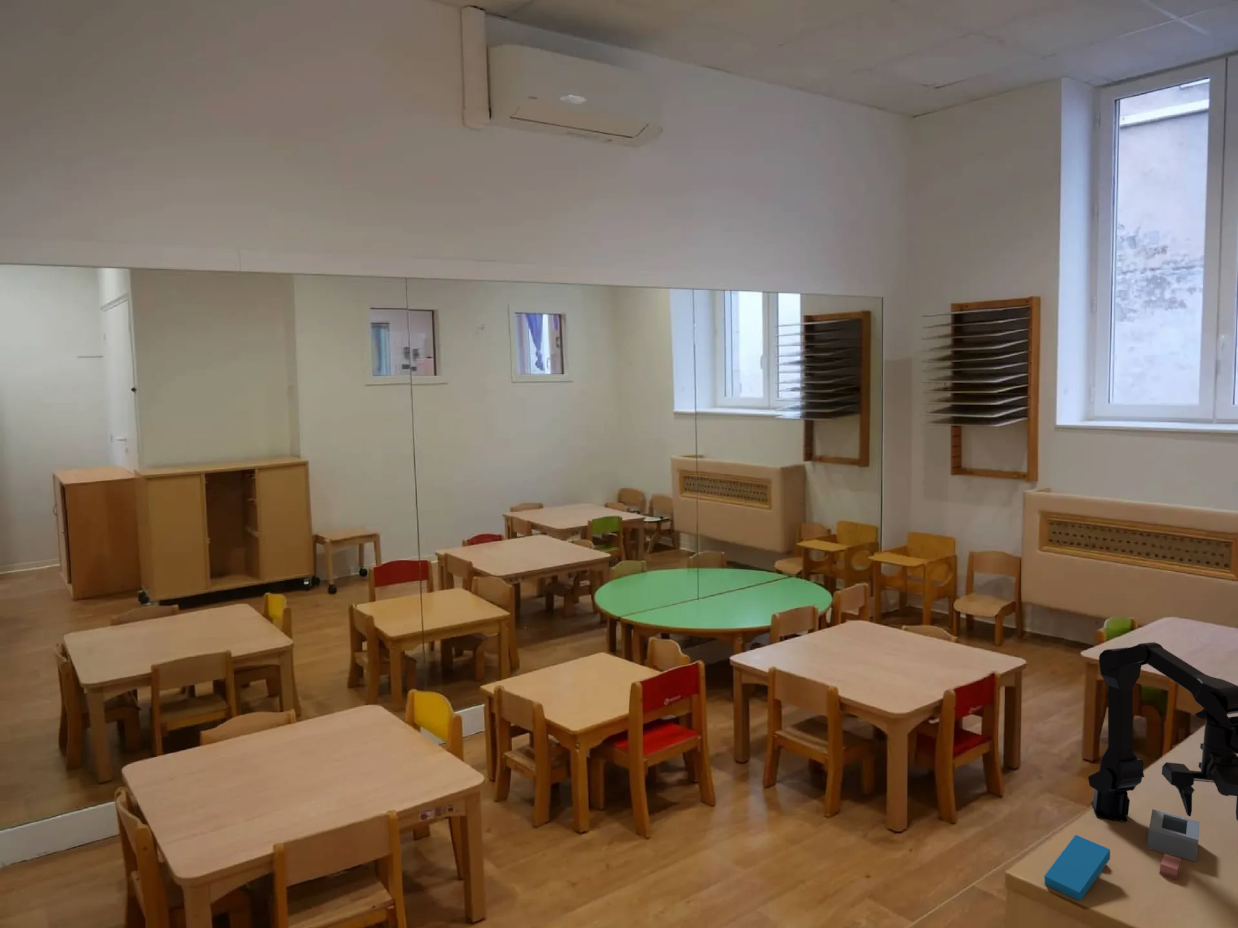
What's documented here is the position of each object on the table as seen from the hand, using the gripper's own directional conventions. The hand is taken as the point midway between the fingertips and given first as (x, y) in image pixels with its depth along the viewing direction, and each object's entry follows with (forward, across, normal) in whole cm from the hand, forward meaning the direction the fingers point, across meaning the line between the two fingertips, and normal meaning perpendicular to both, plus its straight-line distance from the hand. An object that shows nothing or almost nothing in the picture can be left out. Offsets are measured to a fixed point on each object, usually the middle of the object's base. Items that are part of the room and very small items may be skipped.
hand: (1213, 817), depth 183 cm
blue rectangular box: (+13, -26, -7) cm, 30 cm away
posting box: (+12, -3, +10) cm, 16 cm away
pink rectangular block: (+12, -8, -1) cm, 15 cm away
